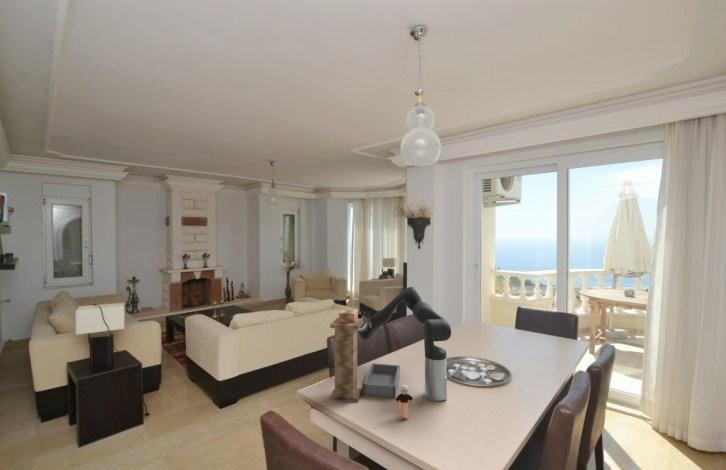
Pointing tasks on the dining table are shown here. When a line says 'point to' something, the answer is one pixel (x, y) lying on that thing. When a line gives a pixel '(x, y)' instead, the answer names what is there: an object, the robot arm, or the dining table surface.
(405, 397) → the grandmother figurine
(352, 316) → the mallet
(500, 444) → the dining table surface
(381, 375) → the tote
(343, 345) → the brown tall square column
